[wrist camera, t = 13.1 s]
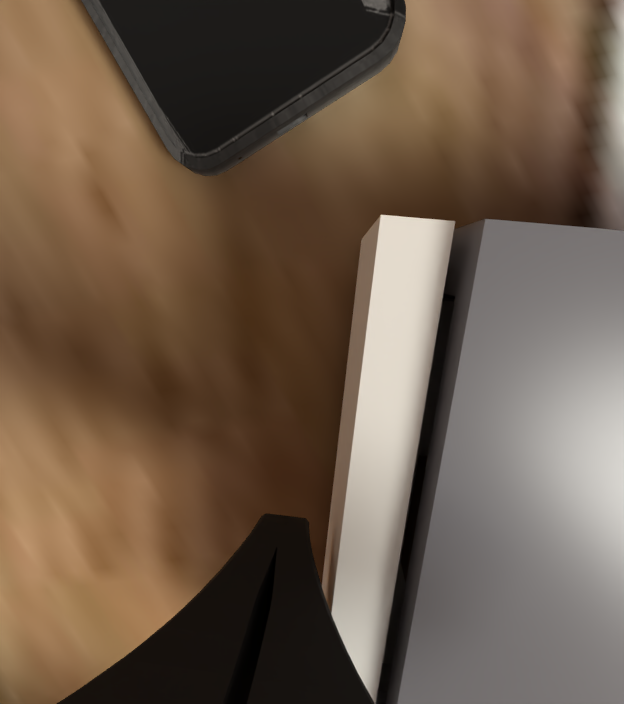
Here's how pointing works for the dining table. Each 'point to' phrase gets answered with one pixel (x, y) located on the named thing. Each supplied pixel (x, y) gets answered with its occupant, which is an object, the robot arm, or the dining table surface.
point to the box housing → (522, 478)
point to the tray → (385, 431)
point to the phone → (243, 65)
